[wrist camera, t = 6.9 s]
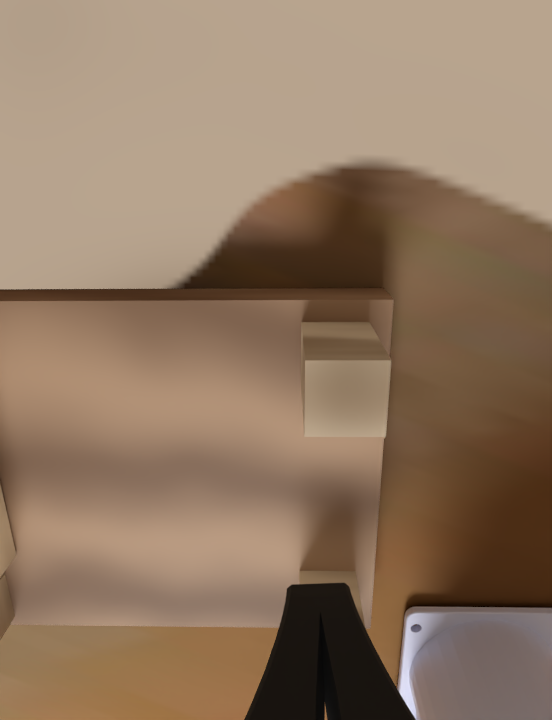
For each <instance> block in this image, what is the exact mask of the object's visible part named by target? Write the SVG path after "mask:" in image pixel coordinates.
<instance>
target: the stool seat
mask: <svg viewBox="0 0 552 720" xmlns="http://www.w3.org/2000/svg"><path fill="white" fill-rule="evenodd" d="M393 303H394V299H393V298H392V297H391V296H390V295H389V294H388V293H387V291H386V290H385V289H384V288H253V289H41V290H40V289H36V290H35V289H31V290H30V289H28V290H0V485H1V489H2V493H3V498H4V502H5V507H6V511H7V516H8V520H9V524H10V529H11V533H12V538H13V542H14V547H15V551H16V556H15V558H14V559H13V561H12V562H11V563H10V565H9V566H8V568H7V569H6V570H5V572H4V573H3V574H2V576H1V577H0V640H1V638H2V637H3V635H4V633H5V632H6V630H7V628H8V627H9V625H88V626H182V627H277V628H279V626H280V622H281V619H282V615H283V610H284V605H285V600H286V592H287V588H288V587H289V586H290V585H293V584H319V583H346V584H347V585H348V586H349V587H350V591H351V594H352V597H353V600H354V603H355V606H356V608H357V611H358V613H359V616H360V618H361V620H362V623H363V625H364V627H365V629H366V628H370V626H371V612H372V598H373V584H374V570H375V556H376V542H377V528H378V514H379V500H380V485H381V471H382V457H383V443H384V437H386V428H387V414H388V400H389V386H390V373H391V359H390V345H391V331H392V317H393Z"/></svg>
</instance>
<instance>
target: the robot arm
mask: <svg viewBox="0 0 552 720" xmlns="http://www.w3.org/2000/svg"><path fill="white" fill-rule="evenodd" d="M415 624H418V625H415ZM413 625H415V626H413ZM325 706H326V712H327V719H328V720H552V608H518V607H411V608H409V609H408V610H407V611H406V613H405V618H404V628H403V638H402V648H401V658H400V668H399V678H398V688H396V686H395V685H394V683H393V681H392V679H391V678H390V676H389V674H388V672H387V670H386V669H385V667H384V665H383V663H382V661H381V659H380V657H379V655H378V653H377V652H376V650H375V648H374V646H373V644H372V642H371V640H370V638H369V636H368V634H367V631H366V629H365V627H364V625H363V623H362V620H361V618H360V616H359V613H358V611H357V608H356V606H355V603H354V600H353V597H352V594H351V591H350V587H349V586H348V585H347V584H346V583H319V584H293V585H290V586H289V587H288V588H287V592H286V600H285V605H284V610H283V615H282V619H281V622H280V626H279V630H278V633H277V637H276V640H275V643H274V646H273V649H272V651H271V654H270V657H269V660H268V663H267V666H266V669H265V672H264V674H263V677H262V679H261V682H260V684H259V686H258V689H257V691H256V694H255V696H254V699H253V701H252V704H251V706H250V708H249V711H248V713H247V715H246V717H245V719H244V720H324V715H325Z"/></svg>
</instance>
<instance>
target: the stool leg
mask: <svg viewBox="0 0 552 720" xmlns="http://www.w3.org/2000/svg"><path fill="white" fill-rule="evenodd" d="M15 556H16V551H15V547H14V542H13V538H12V533H11V529H10V524H9V520H8V516H7V511H6V507H5V502H4V498H3V493H2V489H1V485H0V577H1V576H2V574H3V573H4V572H5V570H6V569H7V568H8V566H9V565H10V563H11V562H12V561H13V559H14V558H15Z"/></svg>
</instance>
